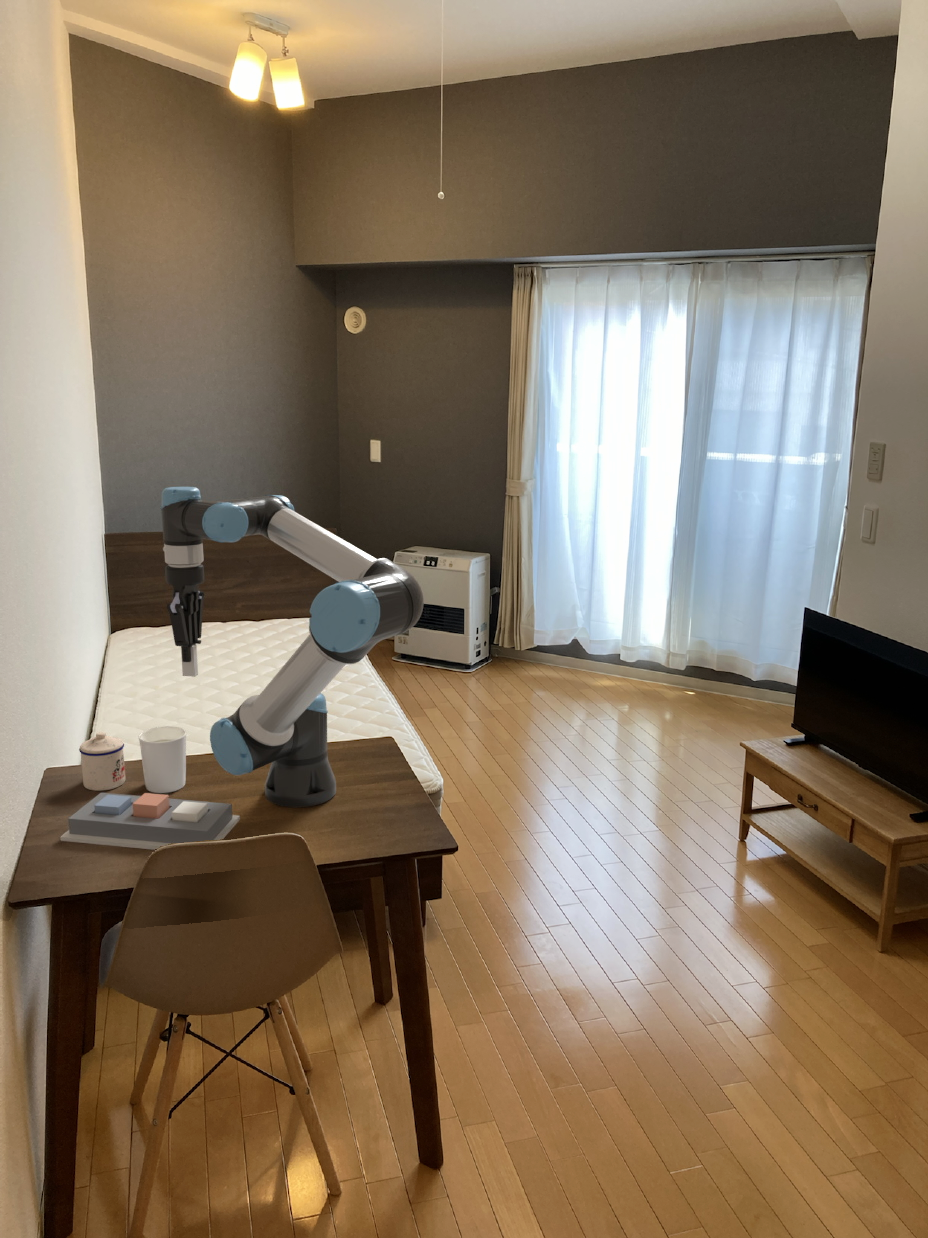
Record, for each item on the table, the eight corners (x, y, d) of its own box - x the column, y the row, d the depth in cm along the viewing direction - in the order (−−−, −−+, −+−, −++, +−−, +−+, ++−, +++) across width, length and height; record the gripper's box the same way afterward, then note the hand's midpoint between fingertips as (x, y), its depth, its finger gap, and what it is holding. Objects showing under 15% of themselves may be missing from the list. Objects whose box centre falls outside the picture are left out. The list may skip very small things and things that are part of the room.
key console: (240, 819, 188) (239, 801, 187) (209, 855, 173) (208, 835, 172) (101, 807, 192) (100, 789, 191) (60, 840, 178) (58, 821, 177)
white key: (208, 817, 183) (207, 803, 182) (197, 828, 178) (196, 814, 177) (184, 815, 184) (183, 801, 183) (172, 826, 179) (171, 812, 178)
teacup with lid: (122, 790, 200) (118, 740, 197) (78, 793, 198) (73, 741, 195) (132, 768, 211) (128, 720, 208) (90, 770, 210) (86, 722, 207)
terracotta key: (169, 809, 184) (168, 795, 183) (157, 820, 179) (156, 805, 178) (145, 806, 185) (144, 793, 184) (133, 818, 180) (132, 803, 179)
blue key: (132, 810, 185) (131, 796, 184) (119, 821, 180) (118, 807, 180) (108, 808, 186) (107, 794, 185) (95, 819, 181) (94, 805, 180)
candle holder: (196, 778, 207) (194, 727, 204) (176, 797, 197) (173, 744, 194) (155, 774, 208) (152, 724, 205) (133, 793, 199) (129, 740, 196)
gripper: (181, 557, 194) (186, 665, 200) (151, 569, 182) (158, 683, 188) (215, 559, 193) (220, 667, 199) (187, 570, 181) (193, 686, 187)
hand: (190, 675), depth 193 cm, fingers closed
